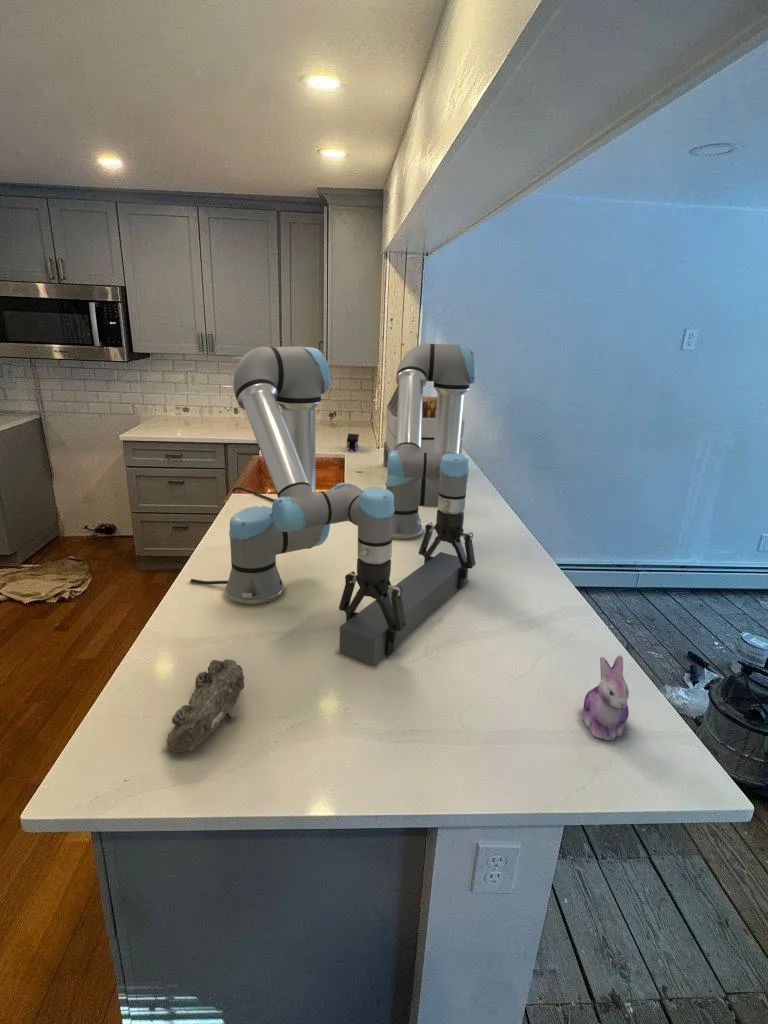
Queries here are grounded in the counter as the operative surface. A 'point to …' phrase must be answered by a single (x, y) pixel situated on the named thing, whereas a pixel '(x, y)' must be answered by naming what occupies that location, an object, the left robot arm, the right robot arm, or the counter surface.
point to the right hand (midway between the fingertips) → (444, 582)
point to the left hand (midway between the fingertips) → (370, 645)
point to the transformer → (426, 431)
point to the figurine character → (352, 441)
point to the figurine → (607, 702)
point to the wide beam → (419, 601)
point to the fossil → (206, 705)
